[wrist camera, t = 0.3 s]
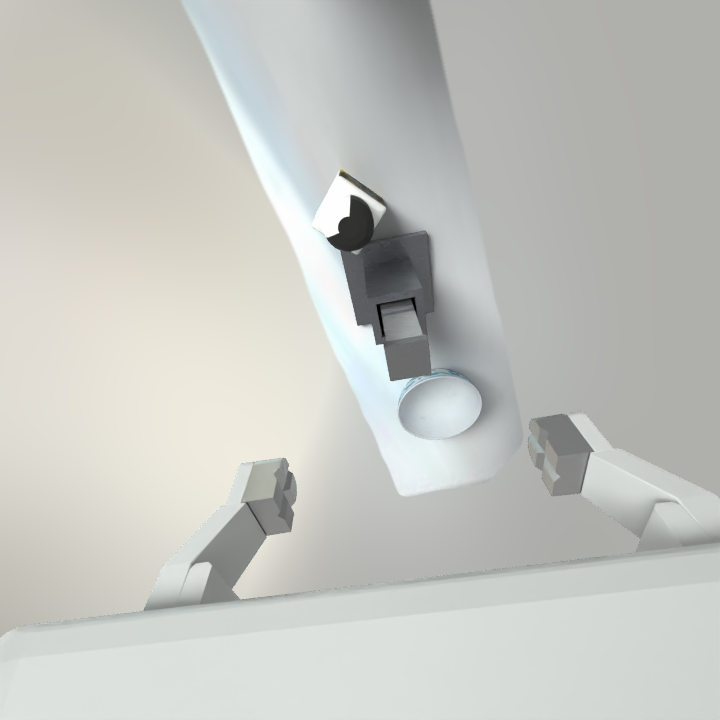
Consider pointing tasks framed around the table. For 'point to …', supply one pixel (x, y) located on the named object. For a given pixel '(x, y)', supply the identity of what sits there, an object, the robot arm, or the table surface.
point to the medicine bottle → (349, 214)
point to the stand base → (389, 278)
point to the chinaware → (439, 405)
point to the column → (404, 341)
